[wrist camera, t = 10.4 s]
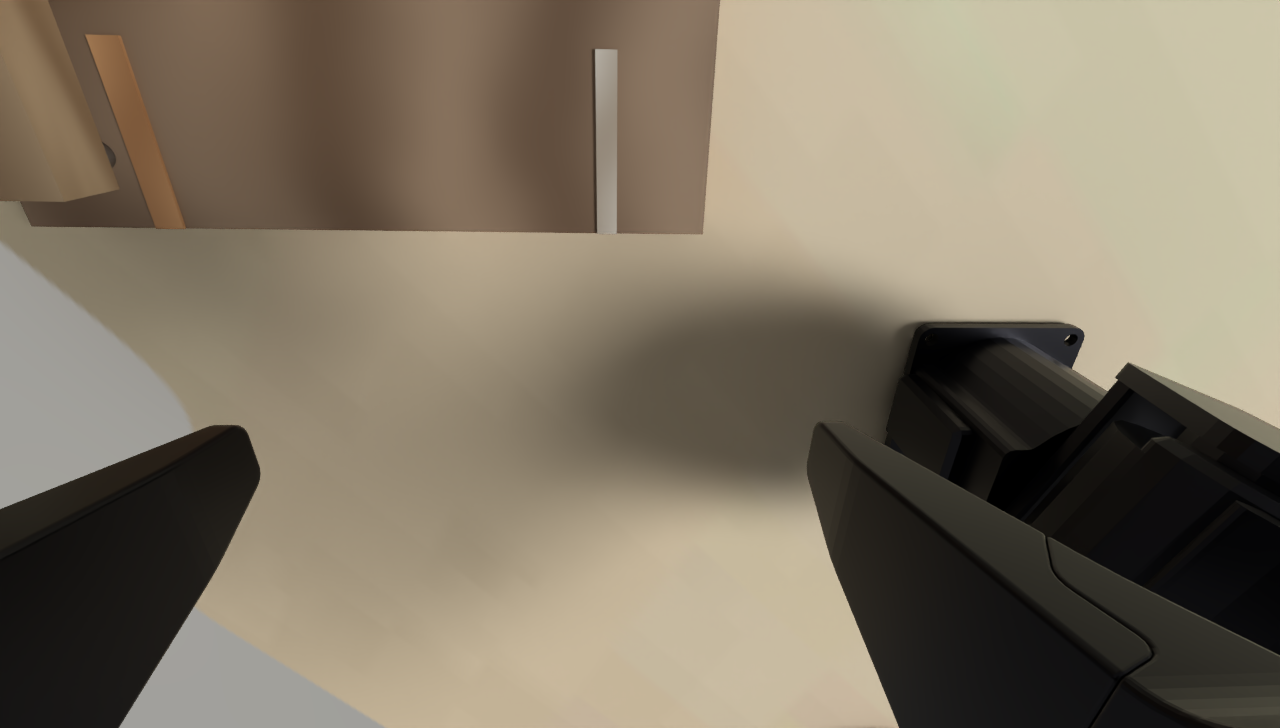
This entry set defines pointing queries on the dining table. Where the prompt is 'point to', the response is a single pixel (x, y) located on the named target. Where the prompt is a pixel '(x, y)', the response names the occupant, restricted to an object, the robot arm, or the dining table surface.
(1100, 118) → the dining table surface
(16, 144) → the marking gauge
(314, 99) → the walnut board
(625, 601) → the dining table surface
